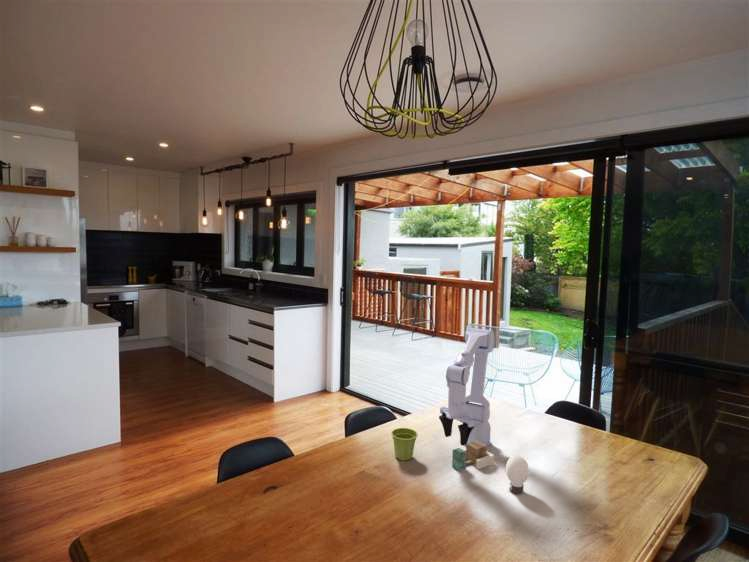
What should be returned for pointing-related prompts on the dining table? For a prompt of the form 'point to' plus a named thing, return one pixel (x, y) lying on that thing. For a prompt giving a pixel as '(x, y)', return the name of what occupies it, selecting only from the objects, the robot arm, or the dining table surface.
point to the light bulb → (517, 473)
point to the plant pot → (404, 442)
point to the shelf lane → (483, 460)
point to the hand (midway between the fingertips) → (455, 440)
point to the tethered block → (468, 454)
